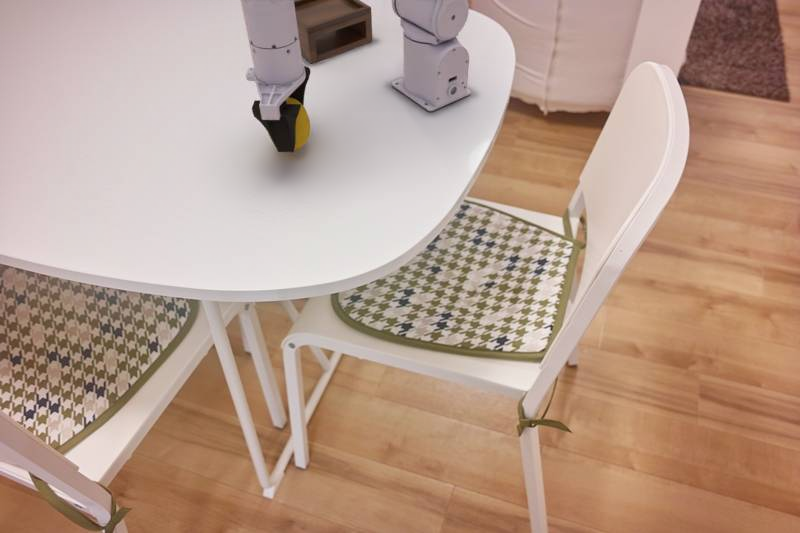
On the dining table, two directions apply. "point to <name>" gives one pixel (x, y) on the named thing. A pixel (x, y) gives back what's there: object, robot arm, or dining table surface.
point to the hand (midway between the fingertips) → (290, 136)
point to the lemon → (300, 124)
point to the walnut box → (331, 27)
